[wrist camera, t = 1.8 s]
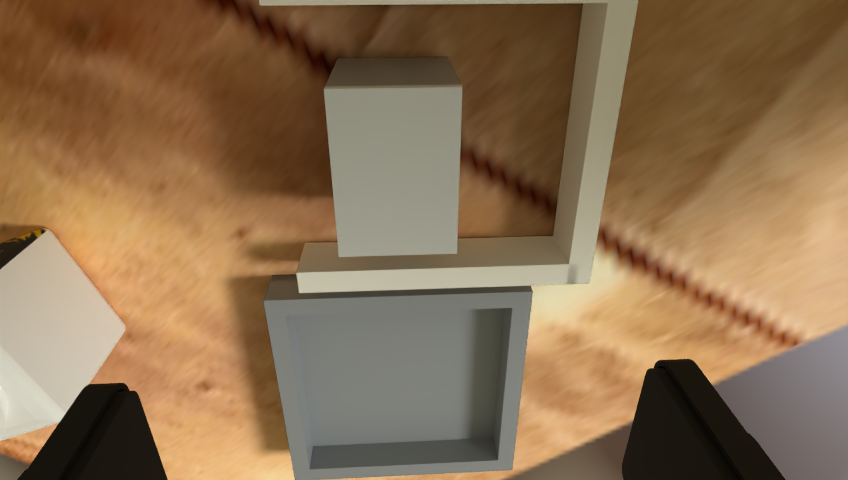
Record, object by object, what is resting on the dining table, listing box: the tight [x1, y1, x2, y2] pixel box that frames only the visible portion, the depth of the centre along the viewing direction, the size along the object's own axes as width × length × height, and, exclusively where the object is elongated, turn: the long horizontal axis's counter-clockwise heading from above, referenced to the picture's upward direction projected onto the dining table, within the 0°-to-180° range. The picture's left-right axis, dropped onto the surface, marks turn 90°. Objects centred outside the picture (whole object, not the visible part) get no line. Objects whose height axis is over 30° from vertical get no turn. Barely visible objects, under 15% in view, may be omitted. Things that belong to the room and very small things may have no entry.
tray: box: [263, 275, 533, 480], centre depth 32 cm, size 14×14×2 cm
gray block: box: [324, 57, 462, 257], centre depth 24 cm, size 5×7×6 cm
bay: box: [259, 0, 638, 293], centre depth 25 cm, size 15×14×3 cm
